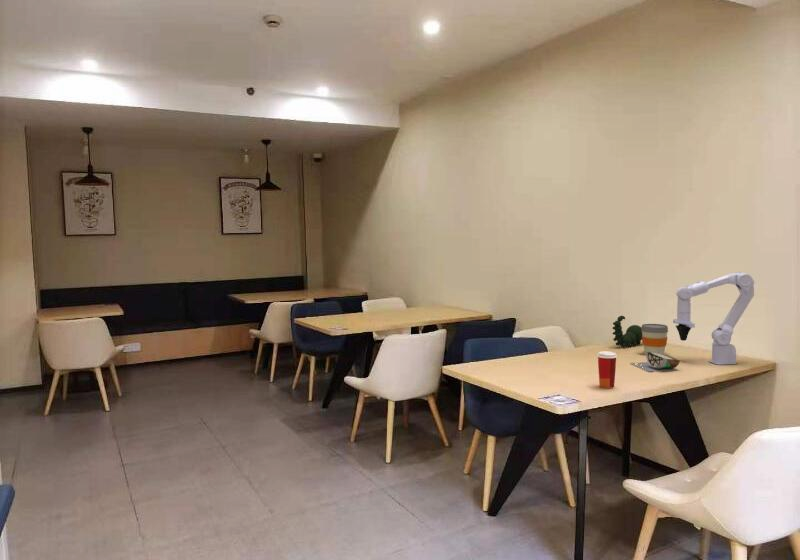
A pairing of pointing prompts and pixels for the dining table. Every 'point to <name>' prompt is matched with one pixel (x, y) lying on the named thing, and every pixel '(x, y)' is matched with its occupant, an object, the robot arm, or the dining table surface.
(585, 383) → the dining table surface
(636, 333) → the toy figurine
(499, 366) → the dining table surface
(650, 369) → the plain gray flat panel
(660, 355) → the food container
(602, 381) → the paper cup
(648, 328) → the reusable coffee cup
